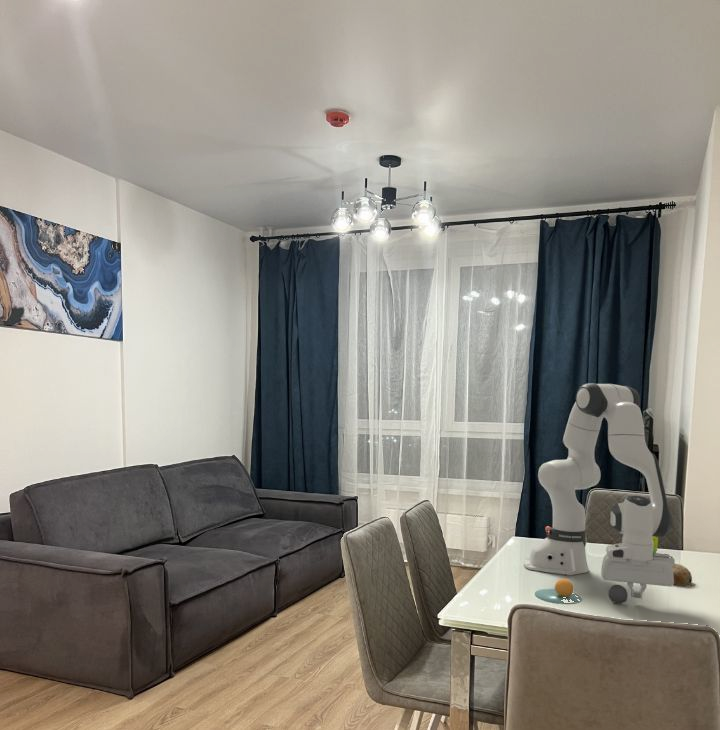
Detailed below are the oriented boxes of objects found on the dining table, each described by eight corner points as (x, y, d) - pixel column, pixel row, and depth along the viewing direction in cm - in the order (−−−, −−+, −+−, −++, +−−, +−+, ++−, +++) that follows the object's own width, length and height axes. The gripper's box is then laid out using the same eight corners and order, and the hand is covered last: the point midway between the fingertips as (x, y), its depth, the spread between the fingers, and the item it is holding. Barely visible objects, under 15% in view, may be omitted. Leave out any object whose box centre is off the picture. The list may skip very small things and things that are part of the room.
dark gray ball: (632, 593, 198) (625, 609, 199) (627, 585, 203) (620, 600, 204) (614, 587, 198) (607, 603, 199) (610, 578, 203) (603, 594, 204)
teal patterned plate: (535, 601, 201) (535, 600, 201) (534, 587, 215) (534, 587, 215) (583, 606, 198) (583, 605, 198) (580, 592, 211) (580, 591, 211)
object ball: (567, 578, 203) (577, 594, 202) (567, 573, 208) (576, 589, 208) (551, 586, 204) (561, 602, 203) (551, 581, 210) (560, 597, 209)
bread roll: (683, 598, 220) (695, 578, 218) (653, 580, 225) (664, 560, 223) (687, 591, 228) (698, 571, 226) (657, 573, 233) (668, 554, 232)
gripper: (672, 552, 202) (671, 598, 201) (601, 546, 207) (600, 590, 206) (677, 557, 195) (676, 604, 195) (603, 550, 201) (602, 597, 200)
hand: (636, 597), depth 201 cm, fingers closed
